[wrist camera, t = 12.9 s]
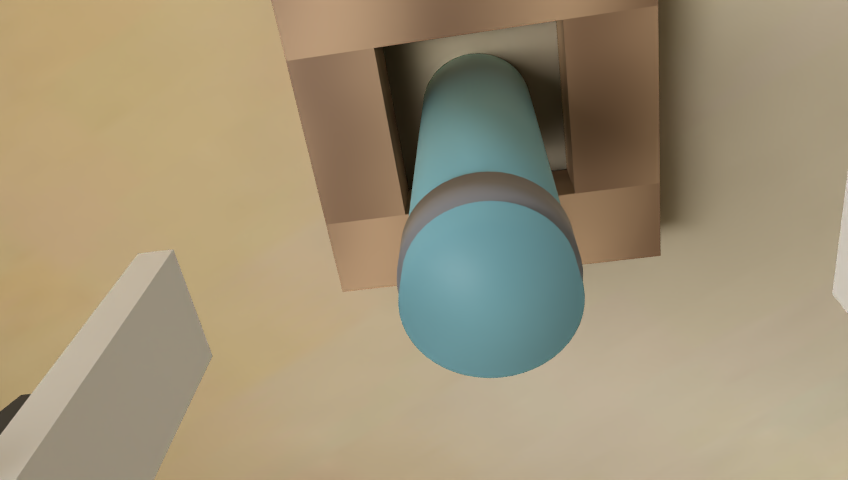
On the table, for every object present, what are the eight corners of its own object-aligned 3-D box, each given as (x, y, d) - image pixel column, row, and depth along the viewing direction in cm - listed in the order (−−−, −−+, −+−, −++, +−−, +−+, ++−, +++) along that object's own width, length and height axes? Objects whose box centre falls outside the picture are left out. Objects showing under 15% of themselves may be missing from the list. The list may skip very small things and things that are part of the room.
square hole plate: (641, -103, 22) (657, -97, 20) (647, 228, 27) (660, 255, 25) (277, -43, 23) (263, -33, 21) (349, 263, 28) (342, 291, 26)
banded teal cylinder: (528, 42, 24) (584, 204, 13) (538, 152, 26) (595, 372, 15) (411, 59, 24) (376, 230, 14) (429, 166, 26) (410, 390, 16)
